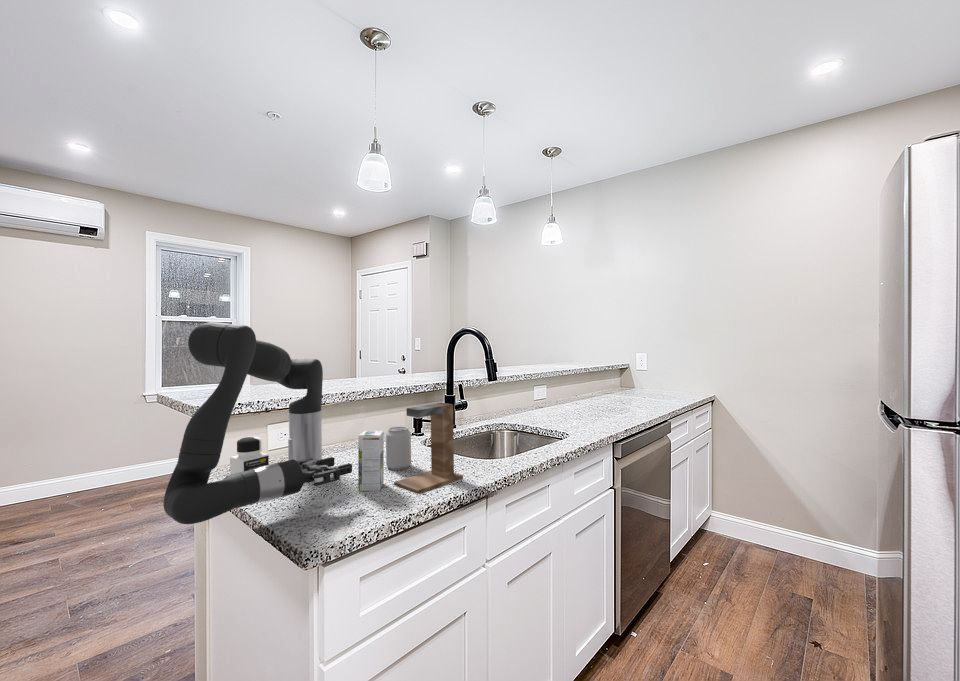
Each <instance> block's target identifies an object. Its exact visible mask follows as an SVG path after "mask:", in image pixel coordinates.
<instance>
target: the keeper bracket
mask: <svg viewBox="0 0 960 681" xmlns="http://www.w3.org/2000/svg"><path fill="white" fill-rule="evenodd" d="M406 416H407V417H412V418H418V419H419V418H425V417H429V416H430V457H431V458H430V460H431V464H430V465H431V466H430V467H431V470H429V471H424V472H421V473H418V474H416V475H412V476H409V477H406V478H402V479H399V480H396V481H394V482H393V485H394V486H396V487H399V488H401V489H404V490H407V491H409V492H413V493H414V494H421V493H424V492H427V491H429V490H432V489H436V488H438V487H441V486H443V485H447V484H450V483H452V482H455V481H458V480H461V479H463V477H464V475H463V474H461V473H460V474H459V473H457V472H455V464H454V463H455V459H454V458H455V455H454V454H455V453H454V450H455V449H454V446H455V445H454V444H455V443H454V441H455V440H454V404H452V403H446V402H438V403H437V402H436V403H431V404H425V405H417V406H411V407H406Z"/></svg>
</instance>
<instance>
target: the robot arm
mask: <svg viewBox="0 0 960 681" xmlns="http://www.w3.org/2000/svg"><path fill="white" fill-rule="evenodd" d="M187 346H188V350H189V352H190V355H191V356H192V357H193V359H195V361H196V362H198V363H200V364H202V365H204V366H205V365H206V366H210V367H211V366H213V367H221V368H224V371H223V374H222V377H221V380H220V381H219V383H218V385H217V387H216V388H215V390H214V391H213V392H212V393H211V395H210V396H209V397H208V398H207V400H206V401H204V403H202V405H201V406H200V407H198V409H197V410H196V412H194V414H193V415H192V416H191V418H190V419H189V421H188V423H187V424H186V428H185V430H184V433H183V438H182V441H181V445H180V448H179V453H178V457H177V463H176V465H175V467H174V469H173V471H172V474H171V477H170V479H169V481H168V484H167V486H166V489H165V493H164V497H163V502H162V503H163V509H164V512H165V514H166V515H167V516H168V517H170V518H172V520H174V521H175V522H176V523H179V524H182V525H194V524H199V523H202V522H206V521H209V520H211V519H214V518H216V517H218V516H221V515H223V514H226V513H228V512H229V511H231V510H234V509H239V508H242V507H243V508H244V507H247V506H250V505H255V504H257V503H265V502H269V501H274V500H277V499H280V498H284V497H286V496H291V495H294V494H295V495H296V494H298V493H299V492H301V490H302V488H303V486H304V485H305V483H306V484H313V486H314V487H318V486H323V485H325V484H329V483H333V482H338V481H340V480H341V479H340V478H341V476H345V475H348V474H351V473H352V472H353V464H352V463H345V464H340V465H335V464H336V463H335V457H333V456H330V457H325V458H323V444H322V443H323V434H322V430H323V429H322V426H323V425H322V424H323V422H322V402H323V379H324V378H323V377H324V376H323V375H324V374H323V372H324V371H323V364H322V362H321V361H320V360H319V359H317V358H299V359H298V358H295V359H294V358H293V359H292V358H291V357H290V354H289V353H288V352H287V351H286V350H285V349H284V348H282V347H281V346H278V345H276V344H273V343H272V342H271V343H270V342H266V341H262V340H258V339H257V337H256V334H255V331H254V330H253V328H252V327H250V326H248V325H245V324H240V323H227V322H217V321H212V322H211V321H210V322H209V321H208V322H205V323H201V324H199V325H197V326H196V327H195V328H194V329H192V330H191V332H190V334H189V335H188V340H187ZM247 376H251V377H254V378H256V379H260V380H264V381H268V382H272V383H273V382H274V383H275V382H276V383H278V384H280V385H281V386H283V387H285V388H287V389H290V390H306V395H305V396H303V397H302V398H300V399H297V400H294V401H291V402H290V403H289V404H288V432H289V433H288V434H289V436H288V442H287V443H288V444H287V446H288V450H287V451H288V454H287V455H288V456H287V457H288V460H285V461H284V460H283V461H280V462H275V463H271V464H270V463H269V465H265V466H262V467H259V468H256V469H253V470H248V471H244V472H239V473H235V474H232V475H230V474H229V475H226V476H225V477H224V478H223V479H221V480H220V479H219V480H218V481H213V482H209V479H210V476H211V473H212V470H214V469H216V467H217V466H218V464H219V462H220V459H221V454H222V451H223V445H224V442H225V436H226V434H227V429H228V425H229V421H230V419H231V415H232V413H233V411H234V408H235V406H236V403H237V400H238V398H239V396H240V393H241V391H242V389H243V385H244V384H245V381H246V379H247Z"/></svg>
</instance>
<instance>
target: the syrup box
mask: <svg viewBox="0 0 960 681" xmlns="http://www.w3.org/2000/svg"><path fill="white" fill-rule="evenodd" d="M384 435H385V434H384V431H383V430H363V431H362V432H361V433H360V434H359V436H358V447H357V448H358V455H357V456H358V457H357V459H358V463H357V464H358V465H357V468H358V470H357V471H358V476H357V478H358V480H357V481H358V484H357V485H358V486H357V487H358V490H357V491H358V492H371V491H372V492H375V491H381V490H382V487H383V485H384V480H385V479H384V477H385V476H384V474H385V473H384V464H385V463H384V460H385V459H384V458H385V453H384V450H385V448H384V447H385V446H384V444H385V442H384V441H385V440H384V437H385V436H384Z"/></svg>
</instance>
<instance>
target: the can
mask: <svg viewBox="0 0 960 681" xmlns="http://www.w3.org/2000/svg"><path fill="white" fill-rule="evenodd" d="M387 430H388V431H387V432H386V433H385V465H386V467H387V468H388V469H390V470H392V471H393V470H394V471H400V470H405V469H408V468H409V467H410V466H411V465H412V432H411V431H410V430H409V427H408V426H401V425H400V426H392V427H391V426H390V427H388V429H387Z"/></svg>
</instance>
